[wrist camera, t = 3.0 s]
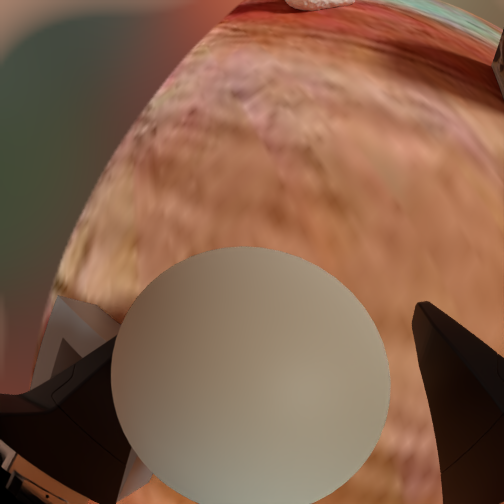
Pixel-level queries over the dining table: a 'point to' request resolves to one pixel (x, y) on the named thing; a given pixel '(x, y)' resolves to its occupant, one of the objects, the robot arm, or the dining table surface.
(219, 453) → the peg
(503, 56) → the coffee box
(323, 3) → the sitting furry creature
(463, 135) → the dining table surface
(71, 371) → the robot arm
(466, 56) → the dining table surface
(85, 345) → the socket block
